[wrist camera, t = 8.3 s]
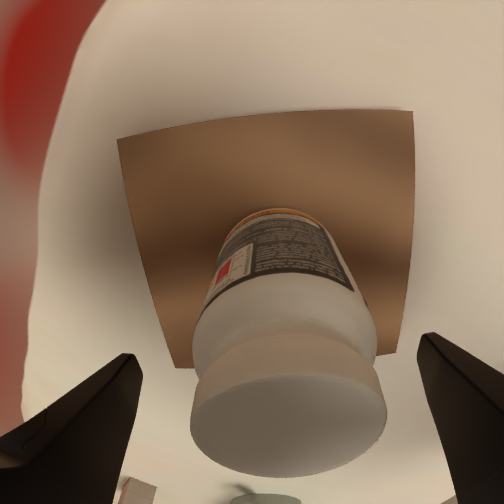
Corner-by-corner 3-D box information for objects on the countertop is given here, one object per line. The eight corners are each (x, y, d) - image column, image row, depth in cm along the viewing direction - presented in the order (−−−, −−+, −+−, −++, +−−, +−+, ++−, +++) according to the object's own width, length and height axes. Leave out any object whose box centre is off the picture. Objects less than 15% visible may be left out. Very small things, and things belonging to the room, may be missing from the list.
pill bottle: (199, 269, 16) (128, 435, 7) (270, 179, 14) (271, 295, 5) (285, 327, 17) (292, 498, 8) (360, 252, 15) (447, 411, 6)
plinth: (390, 341, 18) (395, 352, 17) (179, 356, 20) (175, 368, 19) (402, 111, 13) (412, 111, 12) (127, 137, 14) (116, 139, 13)
